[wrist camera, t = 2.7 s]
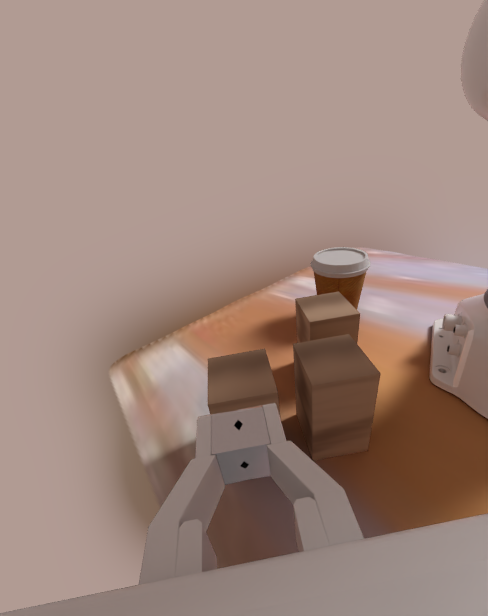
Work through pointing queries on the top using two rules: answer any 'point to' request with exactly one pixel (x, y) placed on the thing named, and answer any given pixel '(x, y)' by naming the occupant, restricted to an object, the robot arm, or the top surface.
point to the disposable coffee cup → (341, 272)
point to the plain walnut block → (240, 382)
